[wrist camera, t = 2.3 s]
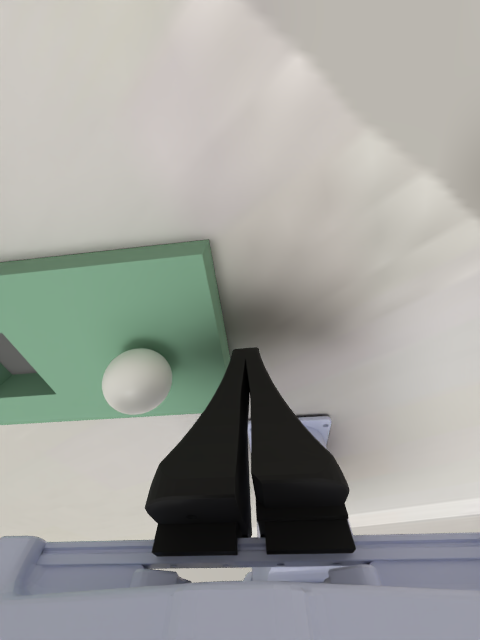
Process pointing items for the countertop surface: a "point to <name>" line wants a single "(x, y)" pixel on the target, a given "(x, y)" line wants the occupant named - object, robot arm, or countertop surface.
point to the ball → (137, 381)
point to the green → (107, 329)
